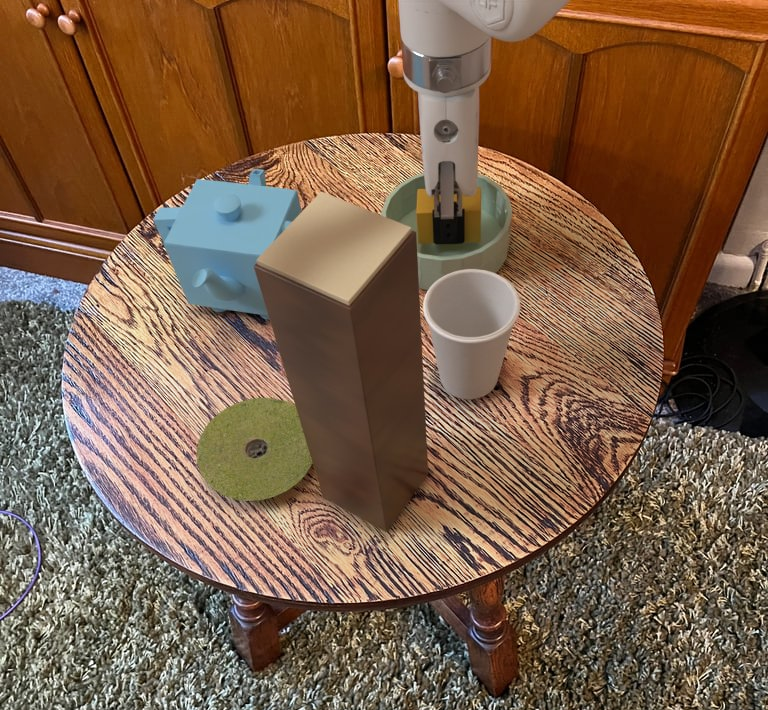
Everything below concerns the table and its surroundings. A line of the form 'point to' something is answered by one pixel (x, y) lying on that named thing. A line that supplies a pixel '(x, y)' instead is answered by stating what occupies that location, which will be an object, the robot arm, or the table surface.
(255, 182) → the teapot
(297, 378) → the stand
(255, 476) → the mat
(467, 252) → the bowl
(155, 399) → the table surface
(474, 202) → the yellow rectangular block
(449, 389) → the dixie cup
